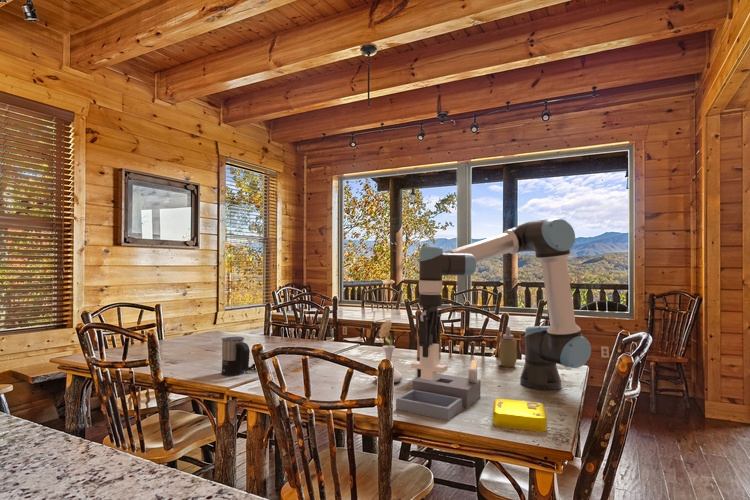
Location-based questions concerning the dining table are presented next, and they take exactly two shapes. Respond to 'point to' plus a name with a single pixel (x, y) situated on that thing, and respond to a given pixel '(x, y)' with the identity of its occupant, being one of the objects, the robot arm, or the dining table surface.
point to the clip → (473, 372)
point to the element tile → (519, 415)
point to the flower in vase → (389, 347)
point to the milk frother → (235, 356)
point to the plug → (435, 366)
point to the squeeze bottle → (508, 350)
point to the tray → (429, 404)
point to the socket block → (450, 388)
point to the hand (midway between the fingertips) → (429, 365)
